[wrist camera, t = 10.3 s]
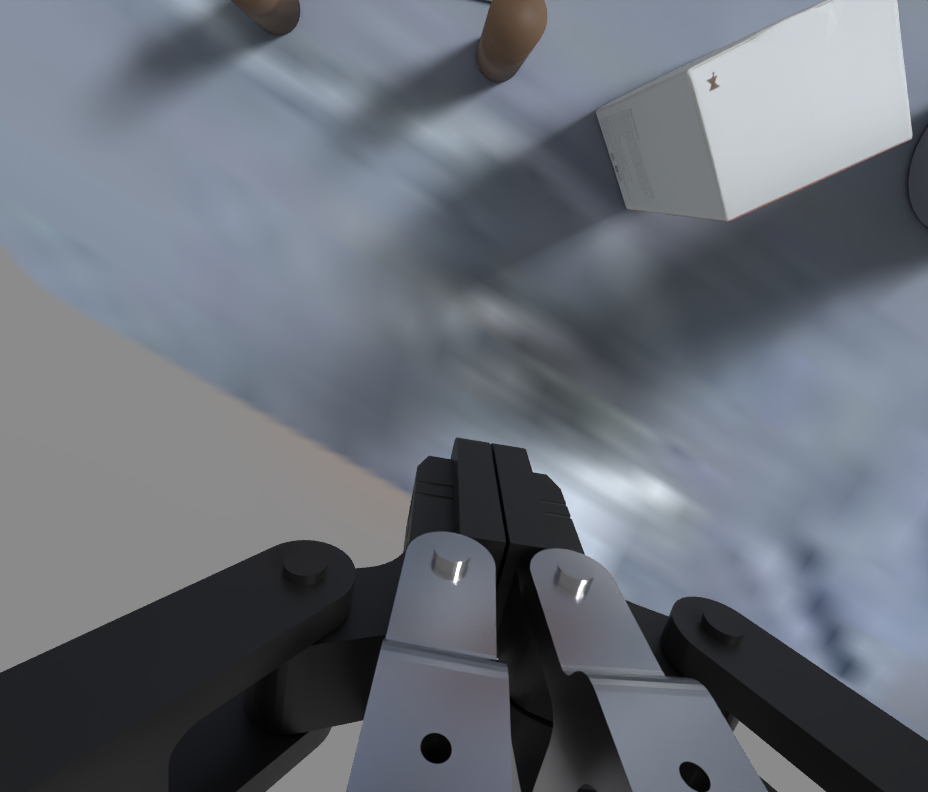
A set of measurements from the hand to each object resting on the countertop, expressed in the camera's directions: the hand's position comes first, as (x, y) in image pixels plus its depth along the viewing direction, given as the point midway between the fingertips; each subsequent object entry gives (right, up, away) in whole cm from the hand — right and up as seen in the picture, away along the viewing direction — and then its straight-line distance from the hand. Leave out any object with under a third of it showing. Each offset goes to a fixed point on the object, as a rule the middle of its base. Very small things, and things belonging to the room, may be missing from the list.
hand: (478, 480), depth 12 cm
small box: (+12, +18, +22) cm, 31 cm away
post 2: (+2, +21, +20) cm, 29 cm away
